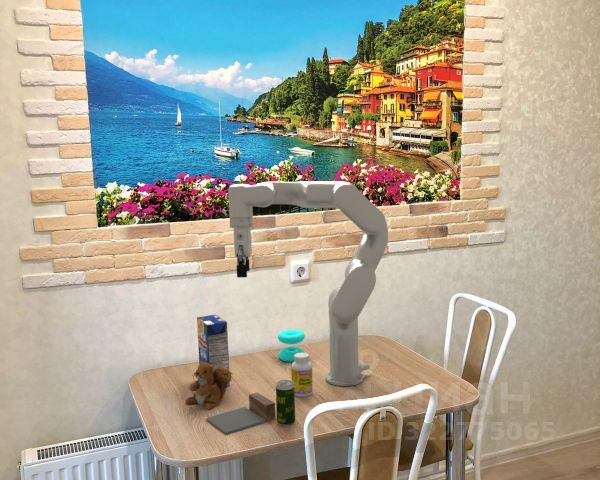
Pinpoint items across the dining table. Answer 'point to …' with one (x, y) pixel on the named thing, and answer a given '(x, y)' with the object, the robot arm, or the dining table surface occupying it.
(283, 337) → the donuts
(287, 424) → the beer can
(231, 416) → the rubber mat
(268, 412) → the walnut ledge
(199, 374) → the stuffed squirrel
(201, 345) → the beverage box
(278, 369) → the dining table surface
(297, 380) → the supplement bottle
